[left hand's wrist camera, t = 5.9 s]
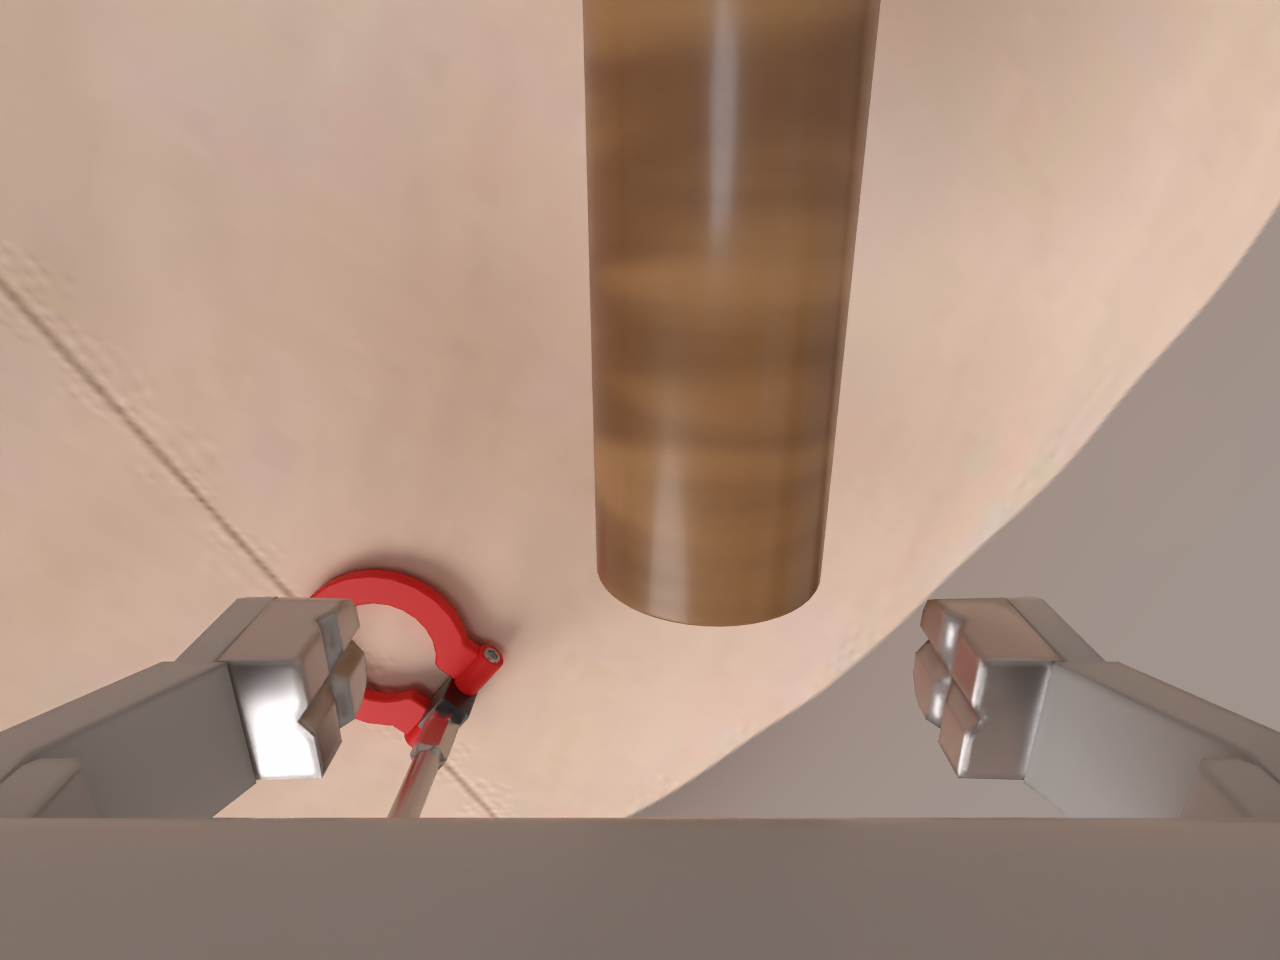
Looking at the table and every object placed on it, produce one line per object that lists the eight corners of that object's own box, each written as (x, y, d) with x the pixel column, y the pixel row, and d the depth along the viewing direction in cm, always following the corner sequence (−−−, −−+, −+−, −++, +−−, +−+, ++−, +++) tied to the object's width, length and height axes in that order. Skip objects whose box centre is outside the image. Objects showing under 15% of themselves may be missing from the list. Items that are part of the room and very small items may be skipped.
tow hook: (271, 648, 36) (422, 747, 38) (82, 860, 24) (318, 990, 26) (362, 531, 34) (518, 642, 36) (206, 700, 22) (453, 854, 24)
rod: (792, 519, 23) (848, 626, 17) (600, 521, 23) (592, 629, 17) (896, -691, 14) (1089, -1317, 8) (572, -700, 14) (536, -1339, 8)
